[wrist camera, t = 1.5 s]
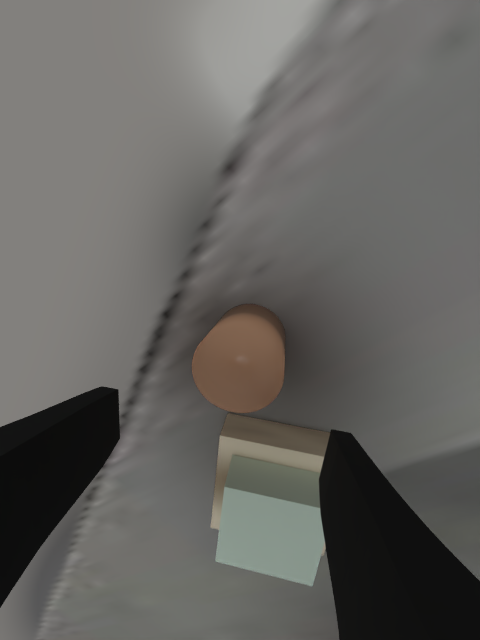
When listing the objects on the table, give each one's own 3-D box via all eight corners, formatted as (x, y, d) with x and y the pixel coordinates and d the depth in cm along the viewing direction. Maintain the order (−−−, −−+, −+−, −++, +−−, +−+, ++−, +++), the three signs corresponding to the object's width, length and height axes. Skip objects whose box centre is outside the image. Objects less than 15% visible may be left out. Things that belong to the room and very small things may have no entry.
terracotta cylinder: (279, 375, 19) (276, 420, 14) (213, 363, 20) (189, 403, 15) (290, 309, 18) (291, 335, 13) (219, 299, 18) (194, 320, 14)
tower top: (309, 544, 19) (312, 586, 17) (223, 523, 20) (215, 561, 18) (326, 474, 18) (332, 511, 15) (232, 454, 18) (224, 486, 16)
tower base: (319, 515, 22) (323, 555, 20) (220, 492, 23) (210, 527, 21) (340, 430, 20) (348, 461, 17) (229, 408, 21) (219, 435, 18)
